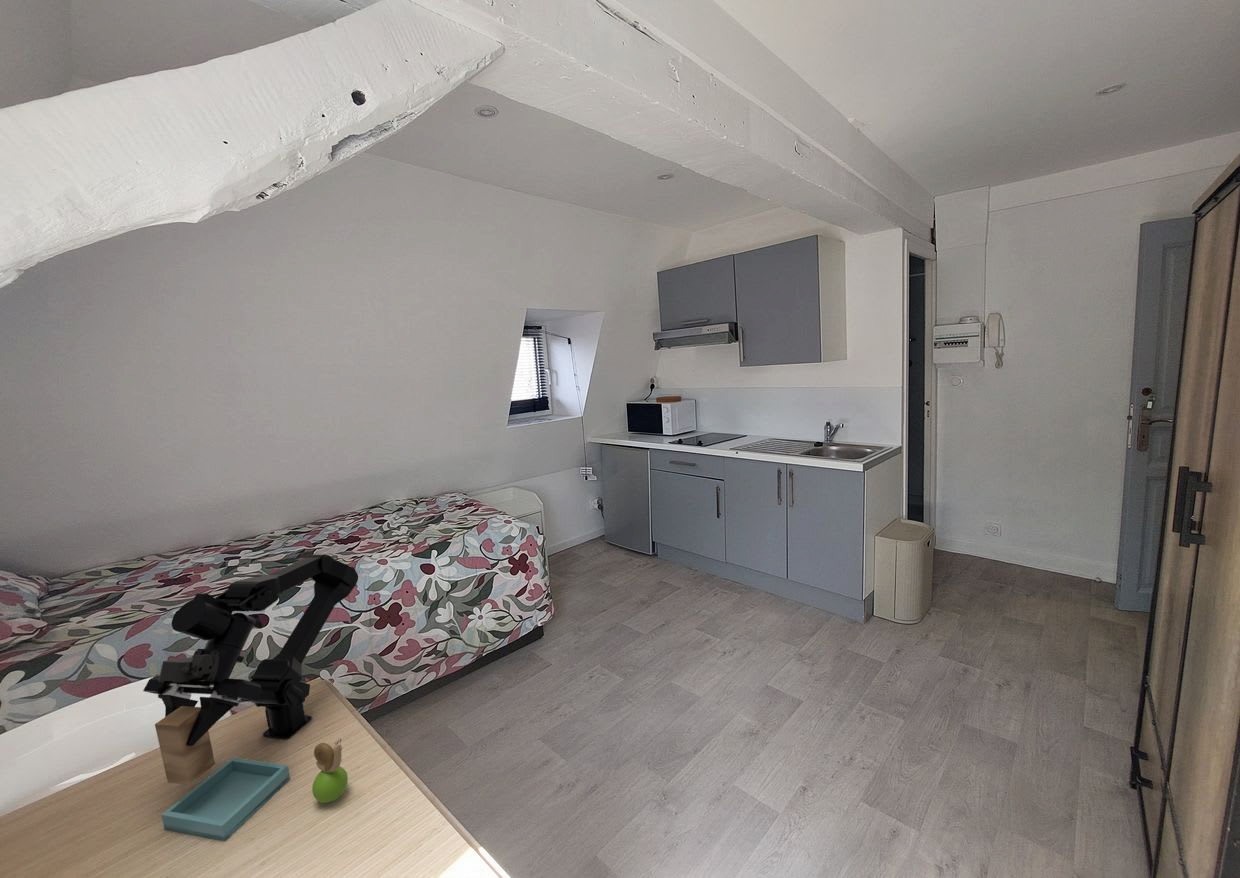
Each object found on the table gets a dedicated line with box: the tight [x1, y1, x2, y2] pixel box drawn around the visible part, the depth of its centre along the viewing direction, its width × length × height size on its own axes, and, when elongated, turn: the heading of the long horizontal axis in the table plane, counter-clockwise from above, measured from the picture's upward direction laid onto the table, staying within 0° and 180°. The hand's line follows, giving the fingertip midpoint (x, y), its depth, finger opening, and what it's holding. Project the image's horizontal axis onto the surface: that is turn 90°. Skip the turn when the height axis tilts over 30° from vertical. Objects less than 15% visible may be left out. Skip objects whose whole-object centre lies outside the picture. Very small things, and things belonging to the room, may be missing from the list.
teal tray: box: [161, 756, 291, 842], centre depth 90 cm, size 13×13×3 cm
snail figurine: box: [311, 737, 349, 804], centre depth 89 cm, size 5×6×12 cm
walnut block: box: [154, 706, 216, 786], centre depth 88 cm, size 4×4×11 cm
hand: (176, 744), depth 86 cm, fingers closed on walnut block, 4 cm apart
